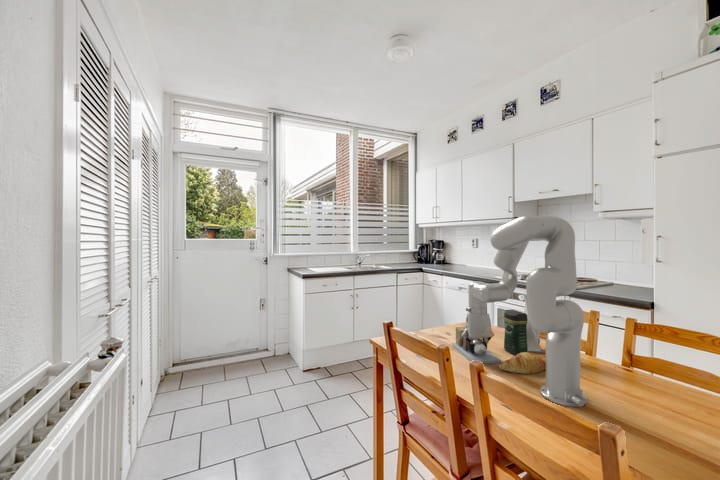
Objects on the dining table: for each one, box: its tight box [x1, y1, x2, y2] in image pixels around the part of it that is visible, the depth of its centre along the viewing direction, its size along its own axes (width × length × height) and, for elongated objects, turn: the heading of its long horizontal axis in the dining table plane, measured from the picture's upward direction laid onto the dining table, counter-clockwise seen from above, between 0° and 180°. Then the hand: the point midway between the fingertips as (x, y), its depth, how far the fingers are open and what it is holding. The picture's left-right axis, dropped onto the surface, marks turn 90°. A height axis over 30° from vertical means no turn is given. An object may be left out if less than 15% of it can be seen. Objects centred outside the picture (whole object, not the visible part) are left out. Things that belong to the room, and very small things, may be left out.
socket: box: [455, 326, 477, 346], centre depth 151 cm, size 4×8×8 cm, turn 96°
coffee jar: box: [503, 309, 529, 356], centre depth 144 cm, size 10×8×19 cm
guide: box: [463, 338, 483, 351], centre depth 144 cm, size 3×8×5 cm, turn 96°
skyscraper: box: [522, 291, 546, 354], centre depth 146 cm, size 8×8×28 cm
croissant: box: [498, 352, 546, 375], centre depth 125 cm, size 21×10×8 cm, turn 97°
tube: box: [462, 335, 488, 356], centre depth 143 cm, size 14×5×5 cm, turn 6°
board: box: [451, 342, 502, 364], centre depth 143 cm, size 22×12×1 cm, turn 6°
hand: (477, 351), depth 139 cm, fingers closed on tube, 4 cm apart
